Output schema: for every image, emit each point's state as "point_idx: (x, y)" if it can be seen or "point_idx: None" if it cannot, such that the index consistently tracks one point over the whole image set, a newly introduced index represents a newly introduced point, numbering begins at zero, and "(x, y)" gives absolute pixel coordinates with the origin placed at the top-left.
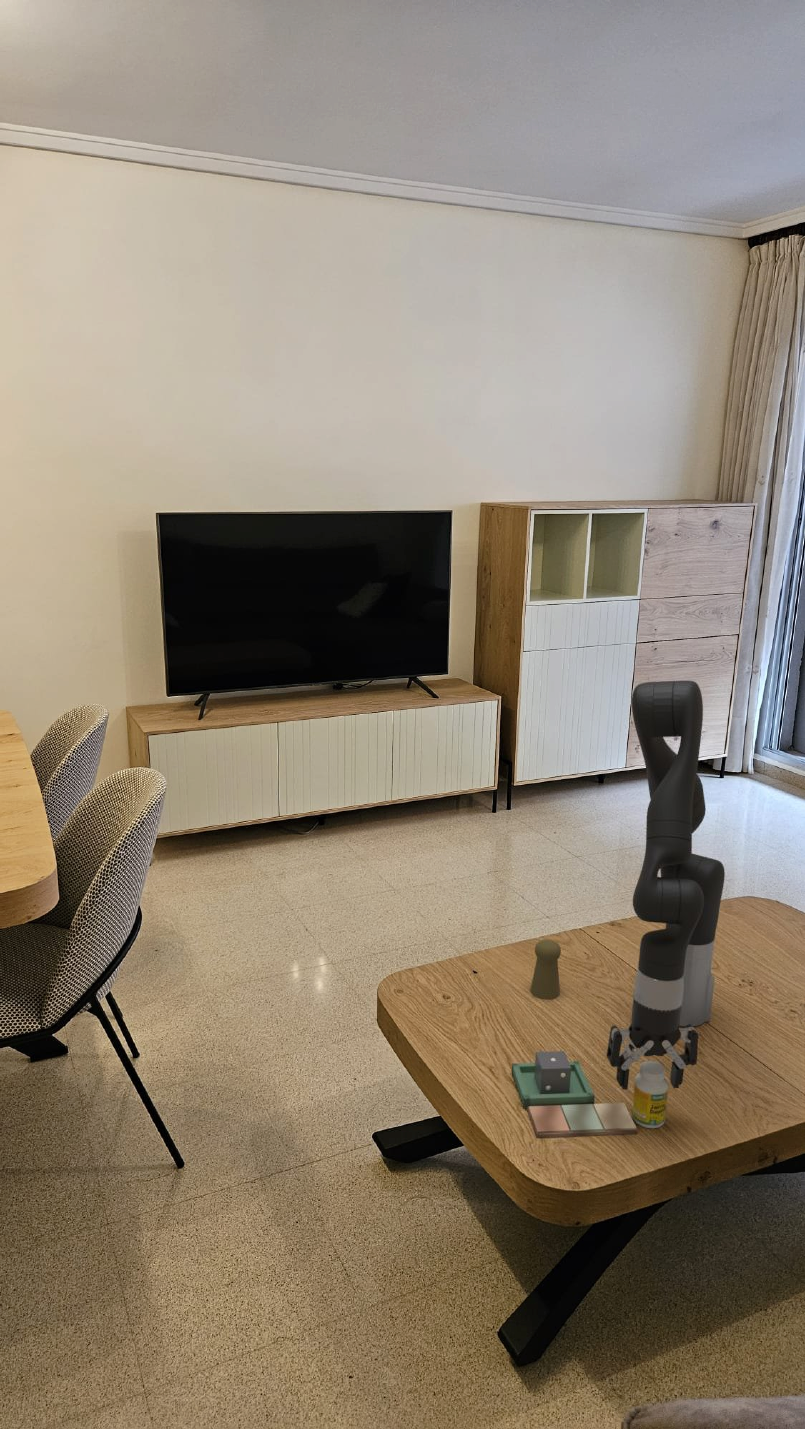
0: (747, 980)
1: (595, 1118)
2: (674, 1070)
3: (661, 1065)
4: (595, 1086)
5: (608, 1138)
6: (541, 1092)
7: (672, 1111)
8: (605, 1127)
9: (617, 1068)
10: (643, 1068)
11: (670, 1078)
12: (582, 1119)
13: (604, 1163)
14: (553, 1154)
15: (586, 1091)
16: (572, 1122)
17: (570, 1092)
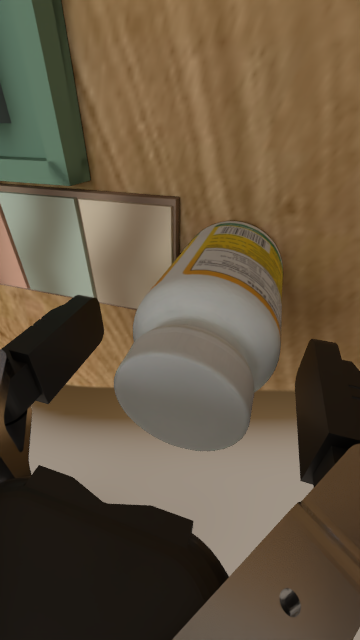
0: None
1: (80, 263)
2: (307, 437)
3: (237, 413)
4: (106, 42)
5: (112, 309)
6: None
7: (335, 249)
8: (100, 297)
9: (14, 342)
10: (124, 396)
11: (312, 349)
12: (51, 260)
13: (96, 360)
14: (17, 320)
15: (45, 151)
16: (30, 266)
17: (14, 111)
